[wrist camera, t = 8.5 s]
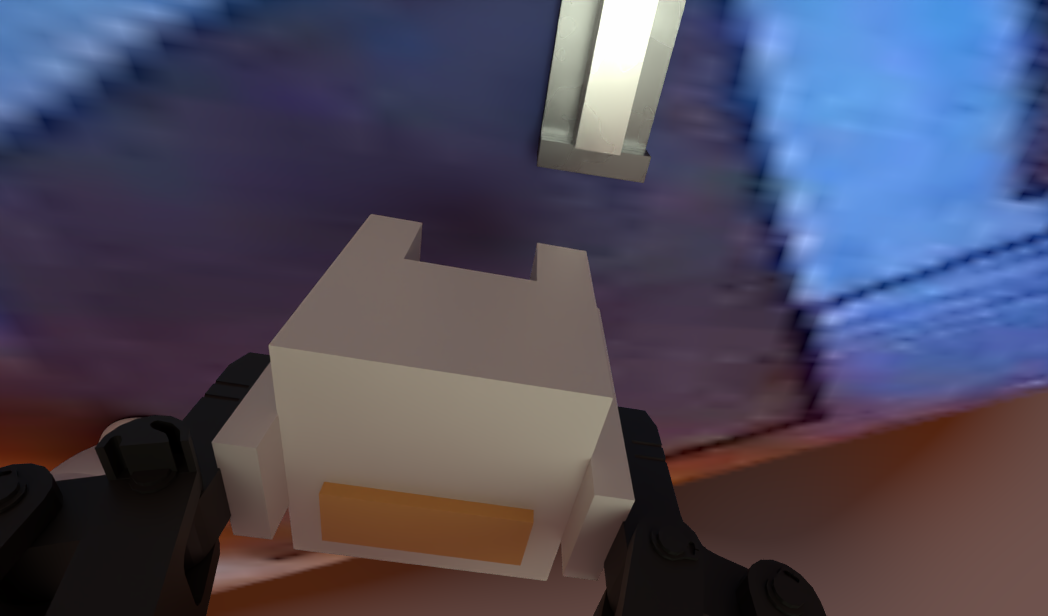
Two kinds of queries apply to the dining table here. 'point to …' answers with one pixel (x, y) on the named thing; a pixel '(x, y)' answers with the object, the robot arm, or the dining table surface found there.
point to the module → (439, 406)
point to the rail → (569, 87)
